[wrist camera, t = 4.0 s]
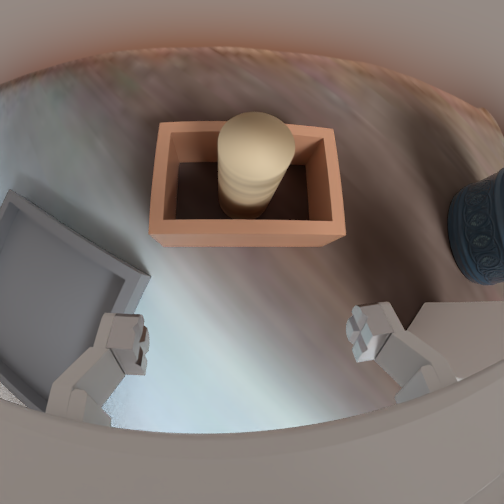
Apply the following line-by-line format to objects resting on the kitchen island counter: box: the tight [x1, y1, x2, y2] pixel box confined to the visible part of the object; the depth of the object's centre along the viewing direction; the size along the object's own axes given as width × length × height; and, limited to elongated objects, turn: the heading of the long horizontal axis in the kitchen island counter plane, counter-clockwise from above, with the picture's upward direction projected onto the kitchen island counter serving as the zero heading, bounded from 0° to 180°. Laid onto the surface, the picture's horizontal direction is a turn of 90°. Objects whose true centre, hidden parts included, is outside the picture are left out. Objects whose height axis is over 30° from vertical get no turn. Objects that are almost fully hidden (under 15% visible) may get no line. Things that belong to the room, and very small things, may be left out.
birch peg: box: [218, 112, 295, 220], centre depth 21 cm, size 4×4×10 cm
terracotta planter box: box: [149, 121, 346, 247], centre depth 23 cm, size 9×14×6 cm, turn 91°
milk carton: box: [407, 301, 504, 381], centre depth 16 cm, size 7×7×19 cm
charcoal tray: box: [0, 189, 151, 413], centre depth 20 cm, size 18×18×3 cm
